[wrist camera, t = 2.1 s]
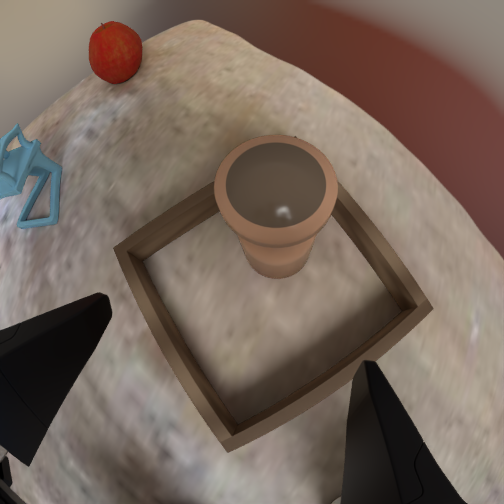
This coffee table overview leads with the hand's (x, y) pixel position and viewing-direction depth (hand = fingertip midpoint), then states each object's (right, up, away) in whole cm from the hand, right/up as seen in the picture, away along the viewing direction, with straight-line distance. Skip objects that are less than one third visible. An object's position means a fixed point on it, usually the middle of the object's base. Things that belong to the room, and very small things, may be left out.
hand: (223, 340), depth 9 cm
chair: (-25, +10, +19) cm, 33 cm away
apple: (-18, +30, +25) cm, 43 cm away
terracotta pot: (+3, +3, +15) cm, 15 cm away
